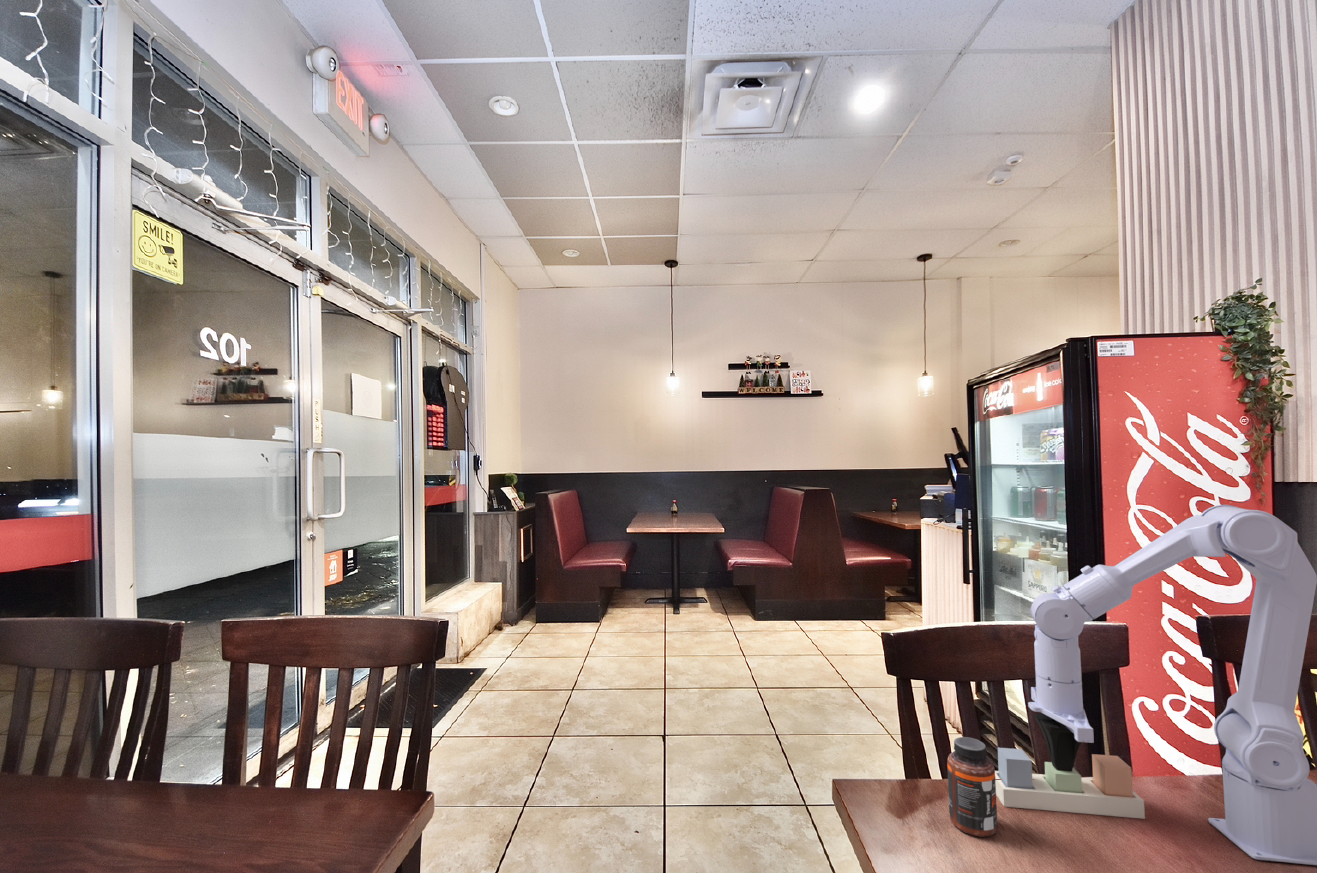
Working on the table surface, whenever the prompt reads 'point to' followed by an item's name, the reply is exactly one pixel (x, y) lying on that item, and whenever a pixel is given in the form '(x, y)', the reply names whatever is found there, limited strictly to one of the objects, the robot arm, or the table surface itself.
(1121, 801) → the button bar
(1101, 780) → the button terracotta
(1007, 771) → the button slate
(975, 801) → the supplement bottle
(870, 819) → the table surface
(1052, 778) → the button green
